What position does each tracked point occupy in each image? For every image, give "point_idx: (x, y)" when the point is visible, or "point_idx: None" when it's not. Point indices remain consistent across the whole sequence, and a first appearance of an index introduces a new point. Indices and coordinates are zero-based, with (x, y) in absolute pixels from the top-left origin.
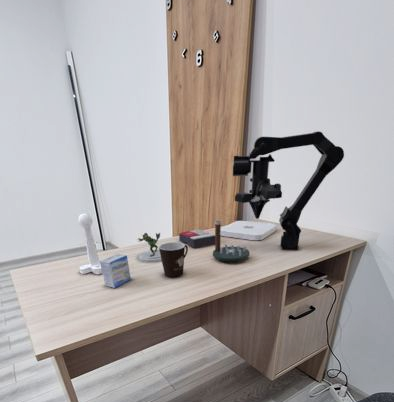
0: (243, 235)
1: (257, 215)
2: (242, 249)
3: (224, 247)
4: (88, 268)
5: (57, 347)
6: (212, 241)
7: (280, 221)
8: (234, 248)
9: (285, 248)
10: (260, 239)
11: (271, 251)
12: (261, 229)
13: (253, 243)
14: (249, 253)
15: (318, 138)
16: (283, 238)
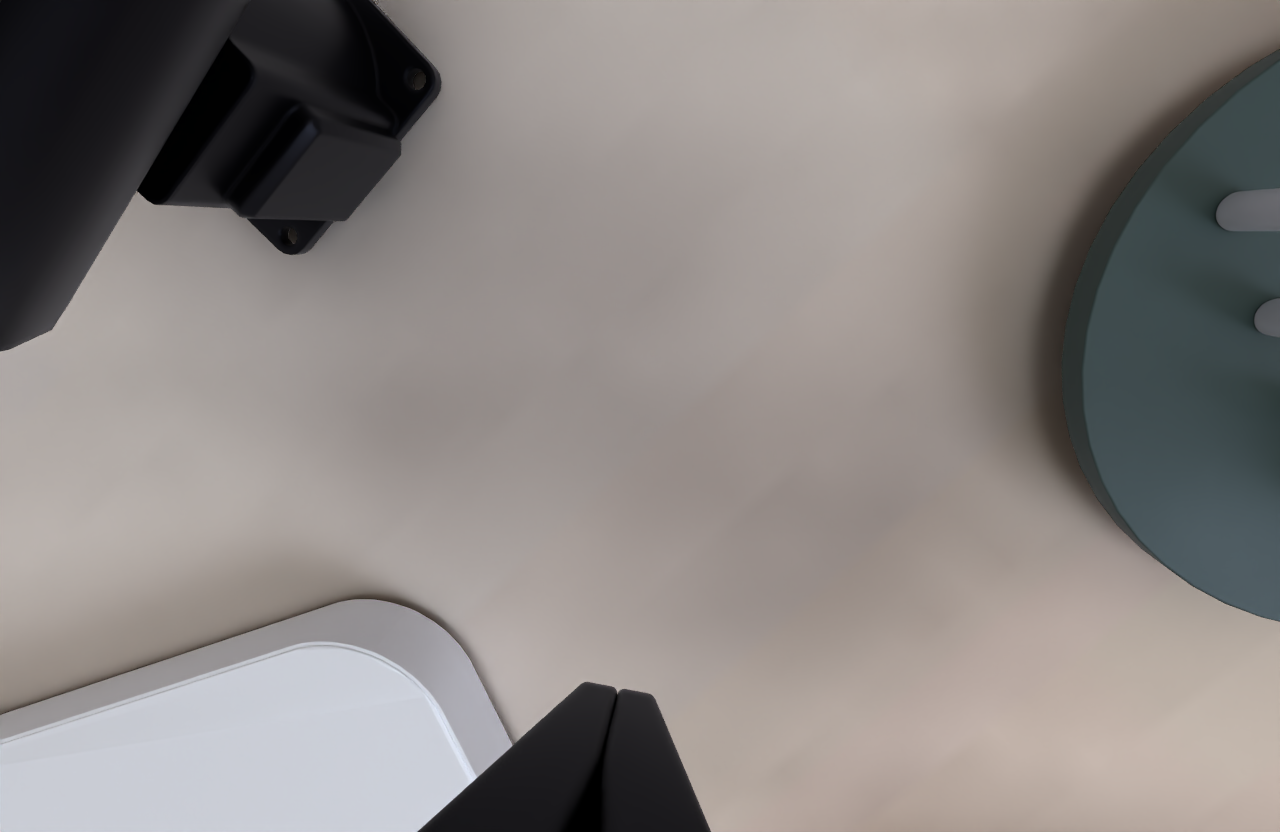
0: None
1: (660, 759)
2: (1163, 316)
3: (1275, 594)
4: None
5: None
6: None
7: (71, 167)
8: (1209, 448)
9: (394, 44)
10: (387, 605)
11: (618, 147)
12: (175, 800)
13: (551, 580)
14: (1235, 87)
15: None
16: (313, 90)
